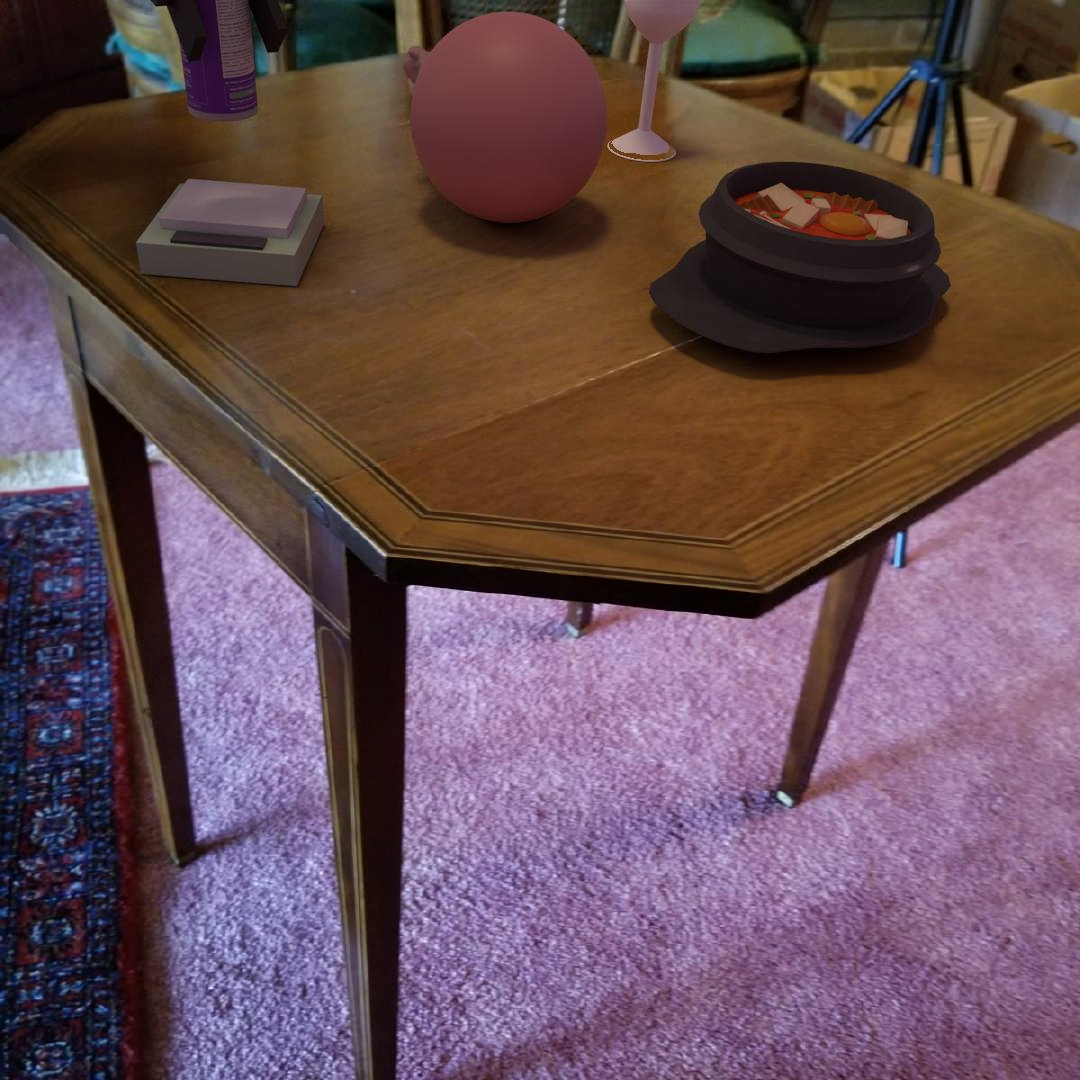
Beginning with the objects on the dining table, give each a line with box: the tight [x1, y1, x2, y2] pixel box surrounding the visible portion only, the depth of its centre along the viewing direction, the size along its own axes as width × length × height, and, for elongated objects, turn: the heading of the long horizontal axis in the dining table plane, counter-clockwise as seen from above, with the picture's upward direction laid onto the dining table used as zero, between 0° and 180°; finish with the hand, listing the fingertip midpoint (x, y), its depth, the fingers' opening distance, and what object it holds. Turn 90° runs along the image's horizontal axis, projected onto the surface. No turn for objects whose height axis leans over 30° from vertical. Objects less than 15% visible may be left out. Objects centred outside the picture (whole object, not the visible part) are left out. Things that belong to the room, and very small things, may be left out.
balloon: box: [402, 11, 608, 224], centre depth 86 cm, size 15×20×15 cm
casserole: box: [648, 161, 952, 355], centre depth 78 cm, size 25×19×8 cm
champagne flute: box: [607, 0, 700, 163], centre depth 97 cm, size 7×7×24 cm
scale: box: [135, 178, 325, 287], centre depth 80 cm, size 11×11×3 cm
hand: (238, 44), depth 69 cm, fingers closed on container, 5 cm apart
